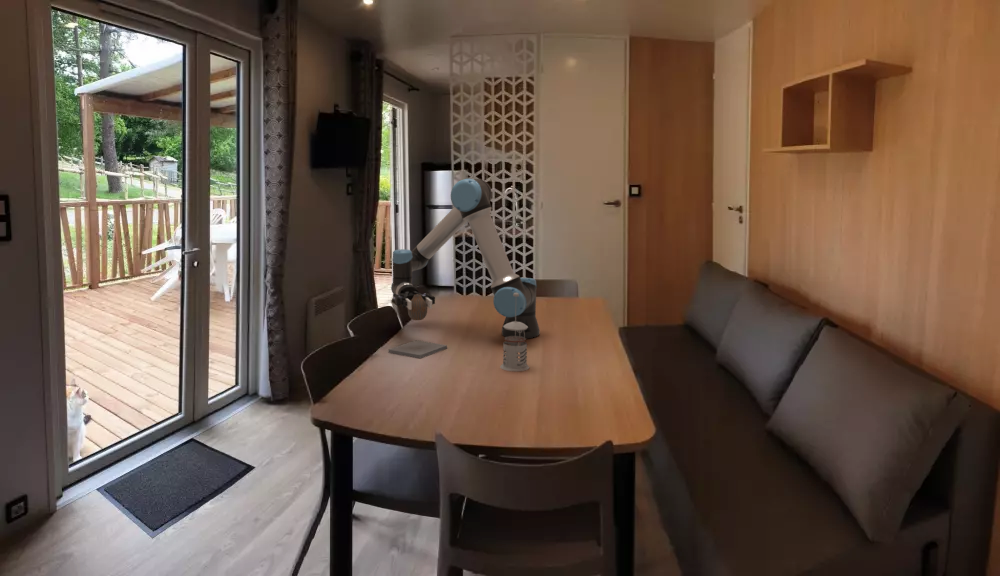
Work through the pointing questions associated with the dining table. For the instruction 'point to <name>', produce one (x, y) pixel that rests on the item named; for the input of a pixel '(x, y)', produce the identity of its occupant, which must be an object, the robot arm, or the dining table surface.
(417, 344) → the slate tile
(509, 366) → the french press
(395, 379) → the dining table surface
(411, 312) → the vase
